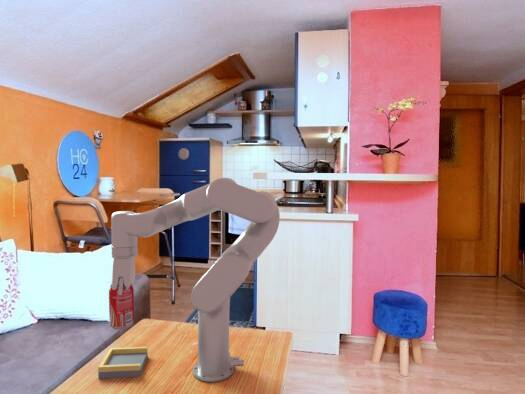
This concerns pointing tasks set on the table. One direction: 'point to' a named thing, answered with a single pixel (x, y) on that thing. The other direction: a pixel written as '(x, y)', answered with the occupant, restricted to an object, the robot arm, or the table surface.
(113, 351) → the tray
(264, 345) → the table surface
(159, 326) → the table surface
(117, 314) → the soda can
